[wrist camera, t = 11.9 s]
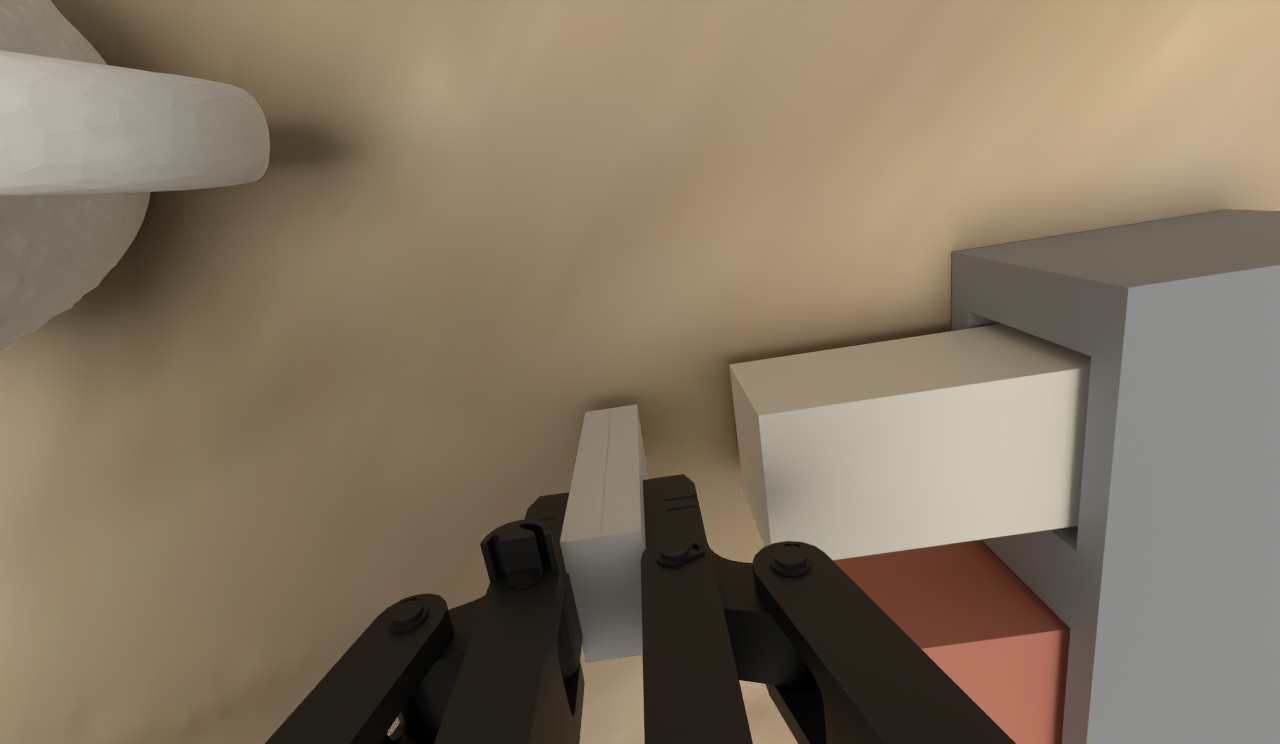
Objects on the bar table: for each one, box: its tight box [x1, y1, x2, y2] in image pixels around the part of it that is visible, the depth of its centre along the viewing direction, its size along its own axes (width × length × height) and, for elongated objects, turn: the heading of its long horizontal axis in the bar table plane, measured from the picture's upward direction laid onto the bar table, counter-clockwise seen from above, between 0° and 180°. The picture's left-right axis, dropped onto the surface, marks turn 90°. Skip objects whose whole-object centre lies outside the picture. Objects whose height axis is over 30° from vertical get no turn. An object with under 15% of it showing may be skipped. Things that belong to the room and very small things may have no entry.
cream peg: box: [729, 324, 1091, 560], centre depth 16 cm, size 9×4×4 cm, turn 99°
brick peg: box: [834, 540, 1070, 744], centre depth 18 cm, size 9×4×4 cm, turn 99°
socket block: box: [952, 210, 1280, 744], centre depth 18 cm, size 8×22×6 cm, turn 9°
